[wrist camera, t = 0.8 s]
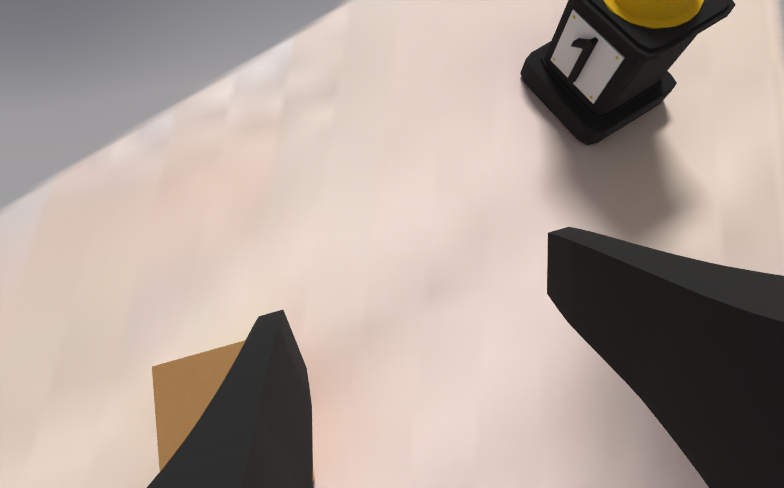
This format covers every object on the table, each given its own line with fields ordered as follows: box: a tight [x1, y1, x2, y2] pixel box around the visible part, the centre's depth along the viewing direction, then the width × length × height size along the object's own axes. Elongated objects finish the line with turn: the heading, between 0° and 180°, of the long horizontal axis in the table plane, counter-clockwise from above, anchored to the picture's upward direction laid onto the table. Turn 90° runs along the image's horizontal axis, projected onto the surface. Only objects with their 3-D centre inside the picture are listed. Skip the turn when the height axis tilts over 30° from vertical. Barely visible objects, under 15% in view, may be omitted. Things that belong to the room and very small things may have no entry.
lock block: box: [152, 340, 315, 481], centre depth 20 cm, size 7×5×5 cm
